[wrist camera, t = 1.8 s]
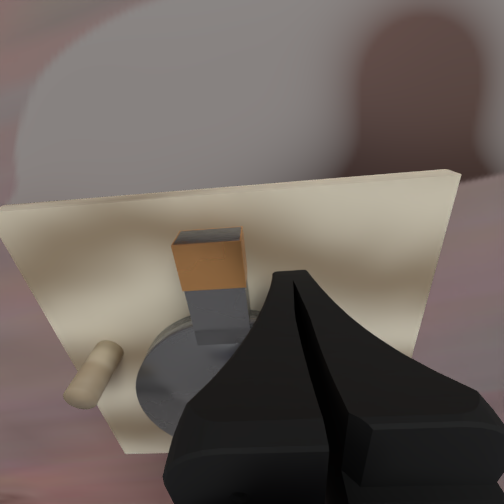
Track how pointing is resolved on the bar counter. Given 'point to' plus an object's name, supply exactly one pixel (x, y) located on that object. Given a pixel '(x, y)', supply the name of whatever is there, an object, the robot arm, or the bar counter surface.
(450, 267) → the bar counter surface
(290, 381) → the robot arm
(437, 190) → the base
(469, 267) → the bar counter surface
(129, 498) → the bar counter surface
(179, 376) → the flange
